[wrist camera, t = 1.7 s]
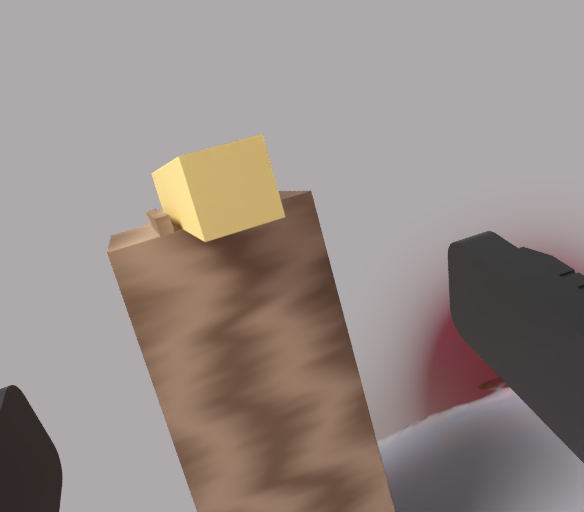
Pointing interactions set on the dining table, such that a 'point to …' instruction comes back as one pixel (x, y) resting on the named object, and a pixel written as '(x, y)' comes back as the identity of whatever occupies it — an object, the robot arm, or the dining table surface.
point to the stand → (253, 364)
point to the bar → (220, 189)
